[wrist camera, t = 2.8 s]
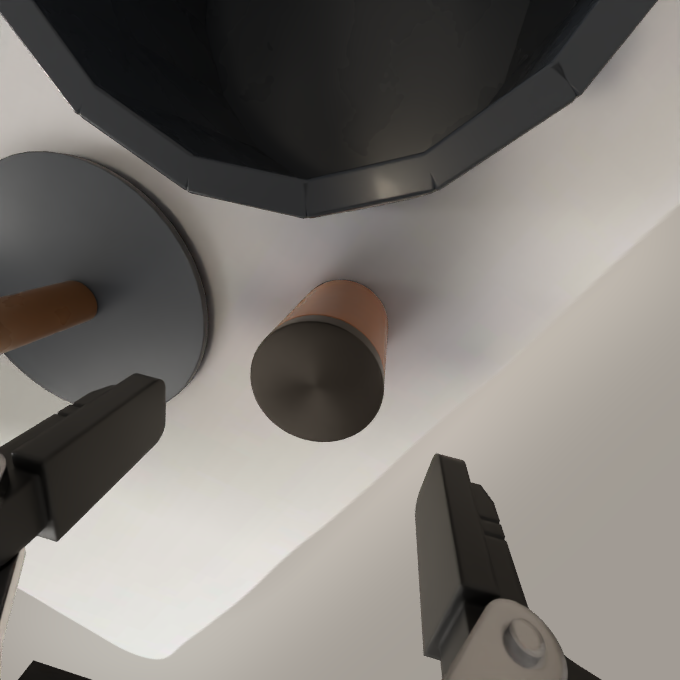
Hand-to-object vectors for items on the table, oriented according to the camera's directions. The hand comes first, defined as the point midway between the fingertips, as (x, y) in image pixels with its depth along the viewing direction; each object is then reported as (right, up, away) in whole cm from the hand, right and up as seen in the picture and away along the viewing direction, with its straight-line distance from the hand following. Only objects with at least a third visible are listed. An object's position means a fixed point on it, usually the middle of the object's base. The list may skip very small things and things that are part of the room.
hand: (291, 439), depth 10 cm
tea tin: (+2, +4, +9) cm, 10 cm away
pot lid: (-13, +5, +10) cm, 18 cm away
